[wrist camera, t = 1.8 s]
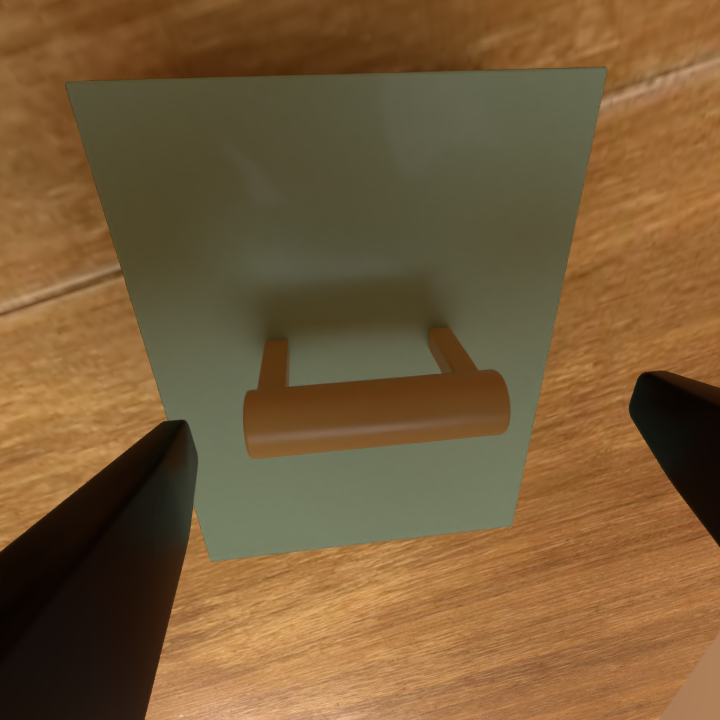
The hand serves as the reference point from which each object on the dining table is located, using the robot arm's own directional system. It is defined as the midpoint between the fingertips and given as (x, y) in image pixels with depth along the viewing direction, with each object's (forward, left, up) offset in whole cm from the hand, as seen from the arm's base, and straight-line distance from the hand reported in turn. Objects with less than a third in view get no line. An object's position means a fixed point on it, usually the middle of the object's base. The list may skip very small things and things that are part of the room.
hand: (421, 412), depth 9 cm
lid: (-1, -2, -6) cm, 6 cm away
